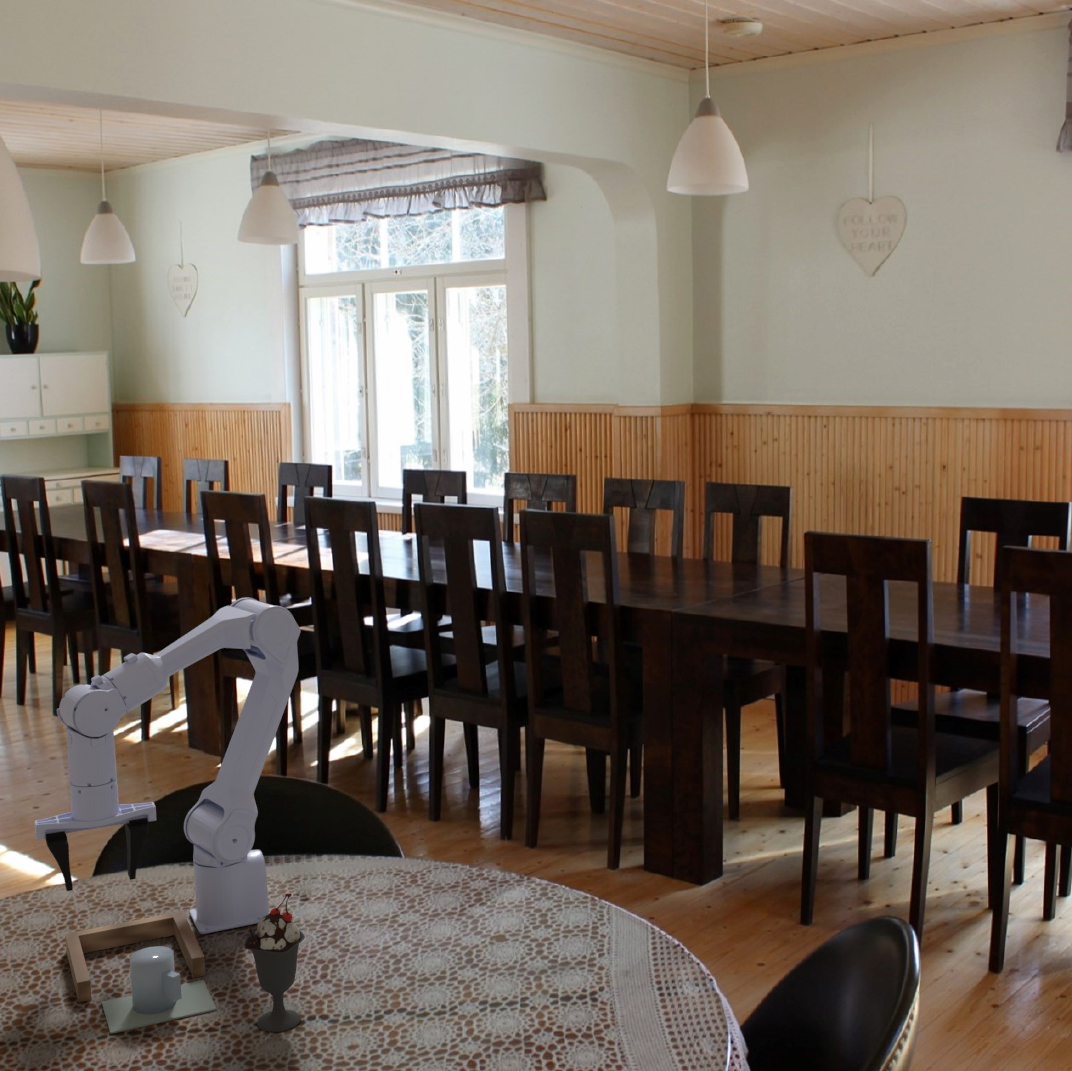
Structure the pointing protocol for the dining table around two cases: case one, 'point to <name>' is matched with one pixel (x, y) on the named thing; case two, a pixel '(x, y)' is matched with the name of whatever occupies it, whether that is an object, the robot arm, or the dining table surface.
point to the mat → (190, 1004)
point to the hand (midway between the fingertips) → (100, 882)
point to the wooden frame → (129, 935)
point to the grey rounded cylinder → (154, 980)
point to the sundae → (276, 964)
